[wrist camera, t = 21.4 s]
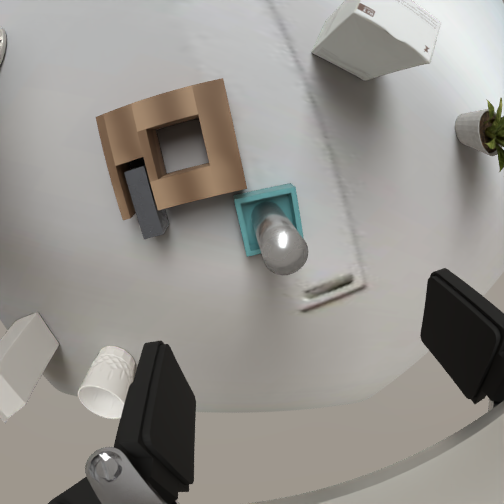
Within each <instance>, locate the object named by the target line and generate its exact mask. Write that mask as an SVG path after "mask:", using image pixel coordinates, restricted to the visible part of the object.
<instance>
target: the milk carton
mask: <svg viewBox="0 0 504 504" xmlns="http://www.w3.org/2000/svg"><path fill="white" fill-rule="evenodd" d="M58 346H59V343H58V341H57V340H56V339H55V337H54V336H53V334H52V333H51V331H50V330H49V328H48V327H47V325H46V324H45V322H44V321H43V319H42V318H41V316H40V315H39V313H38V312H37V313H34V314H31V315H29V316H26V317H24V318H21V319H19V320H16V321H15V322H14V324H13V325H12V326H11V327H10V328H9V330H8V331H7V332H6V333H5V335H4V336H3V337H2V338H1V340H0V419H1V420H2V421H3V422H4V423H6V422H7V419H8V418H9V417H10V416H12V415H13V414H14V413H16V412H17V411H18V410H20V409H21V408H22V407H24V406H25V405H26V404H27V402H28V400H29V397H30V396H31V394H32V392H33V390H34V388H35V386H36V384H37V383H38V381H39V379H40V377H41V375H42V374H43V372H44V370H45V368H46V366H47V365H48V363H49V361H50V360H51V358H52V356H53V354H54V353H55V351H56V349H57V348H58Z"/></svg>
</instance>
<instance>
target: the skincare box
mask: <svg viewBox="0 0 504 504" xmlns="http://www.w3.org/2000/svg"><path fill="white" fill-rule="evenodd" d="M440 25H441V22H440V21H439V20H438V19H436V18H435V17H434V16H433V15H431V14H430V13H429V12H427V11H426V10H425V9H423V8H422V7H421V6H419V5H418V4H416V3H415V2H414V1H412V0H345V1H344V2H343V3H342V4H341V5H340V6H339V7H338V8H337V9H336V10H335V11H334V13H333V14H332V15H331V16H330V17H329V18H328V19H327V20H326V21H325V24H324V26H323V28H322V30H321V32H320V34H319V36H318V38H317V41H316V43H315V45H314V47H313V49H312V53H313V54H315V55H317V56H319V57H321V58H323V59H325V60H327V61H329V62H331V63H333V64H335V65H337V66H339V67H340V68H342V69H344V70H346V71H348V72H350V73H352V74H354V75H356V76H357V77H359V78H361V79H362V80H364V81H366V80H369V79H372V78H376V77H379V76H382V75H385V74H389V73H392V72H396V71H400V70H403V69H407V68H411V67H415V66H419V65H424V64H430V62H431V58H432V55H433V51H434V47H435V43H436V39H437V35H438V32H439V29H440Z"/></svg>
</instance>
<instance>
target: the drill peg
mask: <svg viewBox="0 0 504 504" xmlns="http://www.w3.org/2000/svg"><path fill="white" fill-rule="evenodd" d="M251 221H252V224H253V228H254V231H255V234H256V237H257V241H258V244H259V247H260V251H261V254H262V257H263V260H264V263H265V265H266V267H267V268H268V269H269V270H270V271H272V272H273V273H276V274H279V275H288V274H292V273H294V272H296V271H298V270H299V269H300V268H301V267H302V266H303V265H304V264H305V262H306V260H307V257H308V247H307V244H306V242H305V240H304V239H303V238H302V236H301V235H300V234H299V232H298V231H297V230H296V228H295V227H294V225H293V224H292V223H291V221H290V220H289V219H288V217H287V216H286V215H285V213H284V212H283V211H282V209H281V208H280V207H279V206H278V205H277V204H275V203H273V202H262V203H260V204H258V205H257V206H256V207H255V208H254V209H253V211H252V214H251Z"/></svg>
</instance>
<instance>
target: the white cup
mask: <svg viewBox="0 0 504 504" xmlns="http://www.w3.org/2000/svg"><path fill="white" fill-rule="evenodd" d="M134 371H135V361H134V359H133V358H132V356H131V355H130V354H129V353H128V352H127V351H125V350H124V349H121V348H119V347H117V346H106V347H104V348H102V349H101V350H100V352H99V353H98V355H97V357H96V359H95V360H94V361H93V363H92V365H91V366H90V368H89V370H88V372H87V374H86V376H85V378H84V380H83V382H82V384H81V386H80V388H79V390H78V398H79V400H80V401H81V403H82V404H83V405H84V406H85V407H86V408H87V409H88V410H89V411H91V412H93V413H94V414H96V415H98V416H101V417H104V418H109V419H119V418H121V415H122V411H123V407H124V403H125V400H126V396H127V392H128V388H129V386H130V384H131V383H132V382H133V375H134Z"/></svg>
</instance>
